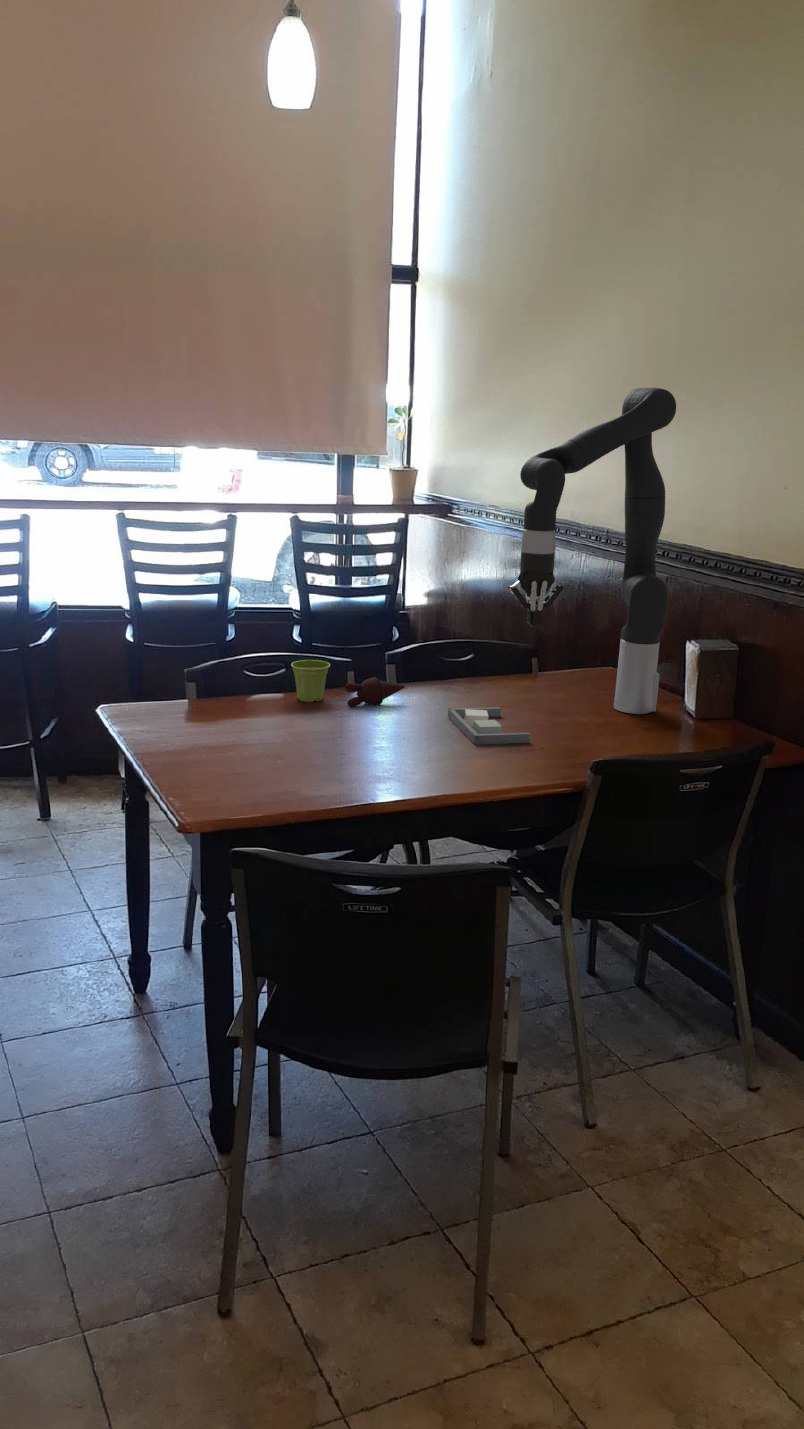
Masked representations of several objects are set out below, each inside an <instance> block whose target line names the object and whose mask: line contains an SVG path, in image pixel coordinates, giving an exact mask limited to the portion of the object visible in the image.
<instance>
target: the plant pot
mask: <svg viewBox="0 0 804 1429" xmlns="http://www.w3.org/2000/svg"><path fill="white" fill-rule="evenodd" d="M290 666H291V668H292V671H293V672H292V673H294V674H293V675H294V680H295V687H296V696H297V699H298V700H299V701H301V702H306V703H312V702H314V701H316V702H320V701H322V700H324V695H325V689H326V688H325V686H326V681H327V674H328V672H329V668H330V667H331V663H330V662H327V661H325V660H324V661H323V660H317V659H303V660H301V659H300V660H297V661H293V662H292V663H291V664H290Z"/></svg>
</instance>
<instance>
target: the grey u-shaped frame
mask: <svg viewBox="0 0 804 1429" xmlns="http://www.w3.org/2000/svg"><path fill="white" fill-rule="evenodd" d="M465 709H470V710H487V713H488V718H500V717H501V716H502V708H501V707H499V706H498V707H497V706H496V707H493V706H492V707H462V708H459V707H458V708H456V707H455V708H454V707H453V708H448V712H447V717H448V719H449V720H450V721H452V723H453V724H454V725H455V726H456V727H457V728H458V729H459V730H460V731H461V732H462V733H463V734H464V735H465V737H467V738H468V739H469V741H471V742H472V744H473V745H477V746H478V745H498V744H499V745H501V744H530V743H531V740H530V739H531V733H530V732H508V733H507V732H506V733H505V732H504V733H500V734H478V733H477V732H476V731H475V730H474V729H473V727H471V726H470V725H469V724H468V723H467V722H466V721H465V720H464V717H465Z"/></svg>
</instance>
